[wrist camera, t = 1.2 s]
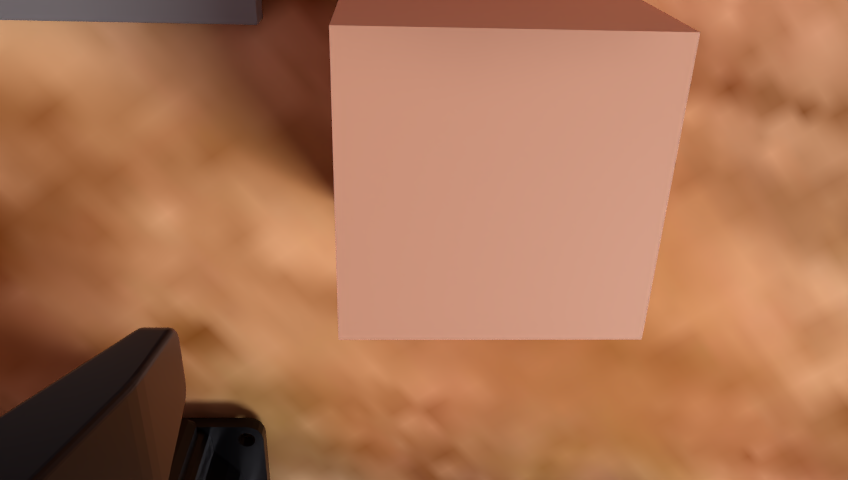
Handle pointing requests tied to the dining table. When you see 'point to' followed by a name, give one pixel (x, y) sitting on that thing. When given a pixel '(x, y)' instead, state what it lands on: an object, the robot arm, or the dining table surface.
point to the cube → (502, 165)
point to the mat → (135, 11)
